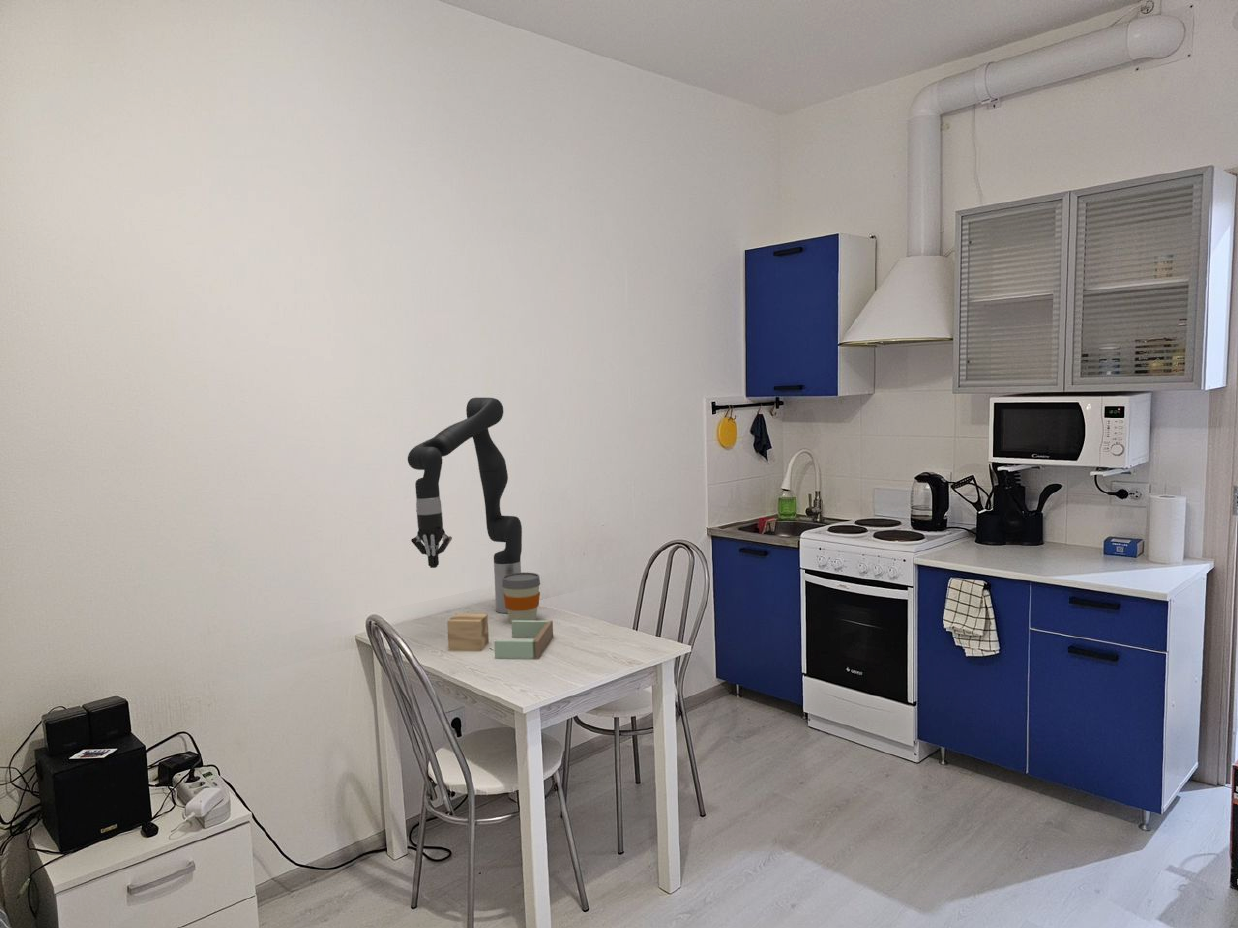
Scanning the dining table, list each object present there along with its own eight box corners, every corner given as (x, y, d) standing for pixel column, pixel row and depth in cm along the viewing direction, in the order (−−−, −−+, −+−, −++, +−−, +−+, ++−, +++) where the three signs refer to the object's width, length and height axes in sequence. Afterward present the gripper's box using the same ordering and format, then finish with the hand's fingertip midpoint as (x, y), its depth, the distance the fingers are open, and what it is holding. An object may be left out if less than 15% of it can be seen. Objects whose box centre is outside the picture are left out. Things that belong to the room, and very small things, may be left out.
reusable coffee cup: (501, 617, 276) (499, 574, 274) (538, 614, 279) (536, 570, 278) (506, 627, 264) (504, 582, 262) (544, 623, 267) (542, 579, 266)
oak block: (457, 642, 251) (455, 613, 250) (488, 642, 249) (487, 613, 248) (448, 650, 243) (447, 621, 242) (481, 651, 241) (479, 621, 241)
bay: (513, 635, 255) (512, 620, 255) (553, 636, 253) (552, 620, 253) (494, 658, 234) (494, 641, 234) (538, 658, 233) (537, 641, 232)
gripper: (454, 509, 252) (458, 564, 253) (414, 510, 254) (419, 564, 256) (444, 513, 244) (449, 569, 246) (403, 514, 247) (408, 570, 249)
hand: (433, 567), depth 251 cm, fingers closed
